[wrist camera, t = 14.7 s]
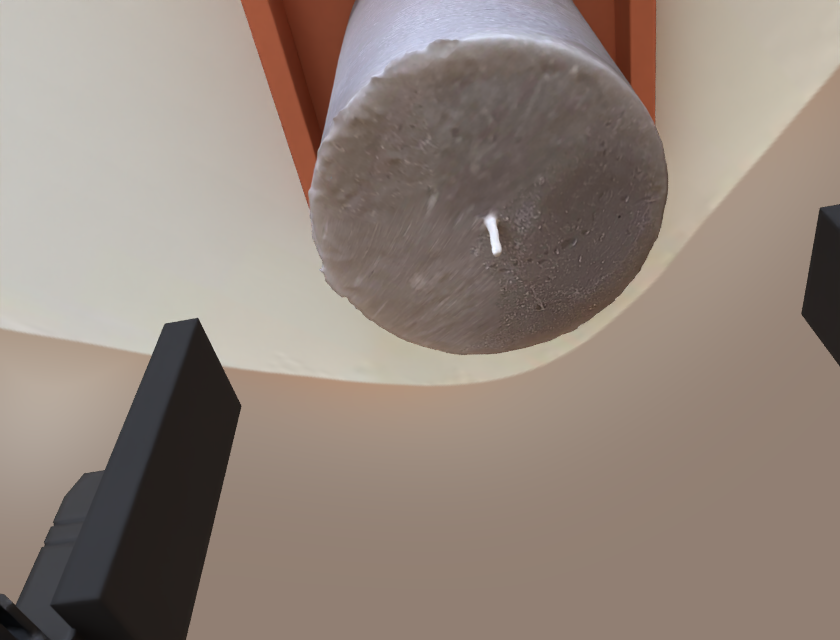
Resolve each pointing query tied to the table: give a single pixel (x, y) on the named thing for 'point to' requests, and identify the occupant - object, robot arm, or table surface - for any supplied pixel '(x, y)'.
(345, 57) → the pillar candle
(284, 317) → the table surface
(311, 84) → the holder
